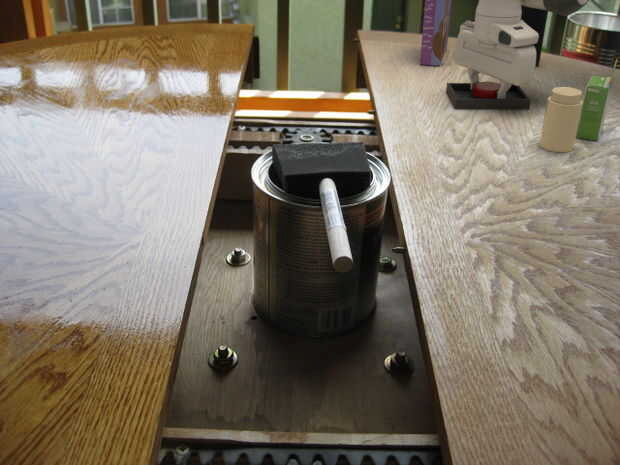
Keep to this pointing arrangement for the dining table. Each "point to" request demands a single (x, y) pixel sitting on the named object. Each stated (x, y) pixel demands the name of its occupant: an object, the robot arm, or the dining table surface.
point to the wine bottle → (535, 25)
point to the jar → (561, 119)
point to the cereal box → (435, 31)
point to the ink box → (594, 107)
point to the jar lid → (485, 89)
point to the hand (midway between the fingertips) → (487, 95)
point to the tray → (466, 100)
